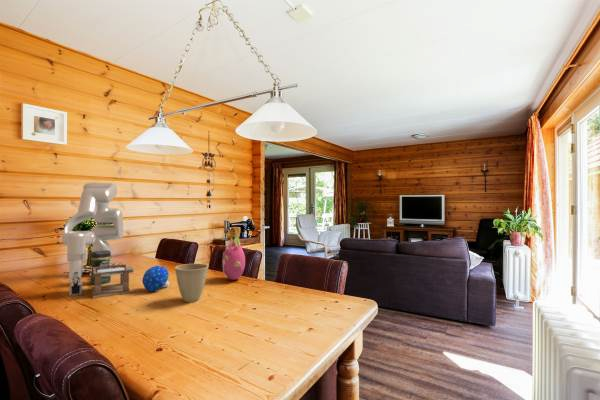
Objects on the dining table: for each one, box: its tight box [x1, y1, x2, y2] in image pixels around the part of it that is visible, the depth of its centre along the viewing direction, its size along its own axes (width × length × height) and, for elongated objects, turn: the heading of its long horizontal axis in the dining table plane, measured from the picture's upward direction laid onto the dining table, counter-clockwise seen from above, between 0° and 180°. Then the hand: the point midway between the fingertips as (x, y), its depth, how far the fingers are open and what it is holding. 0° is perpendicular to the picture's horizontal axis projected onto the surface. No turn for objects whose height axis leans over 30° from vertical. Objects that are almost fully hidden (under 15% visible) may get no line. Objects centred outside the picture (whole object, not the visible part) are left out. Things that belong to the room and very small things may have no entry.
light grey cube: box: [69, 281, 83, 297], centre depth 155 cm, size 5×5×5 cm
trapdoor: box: [97, 266, 134, 276], centre depth 161 cm, size 12×16×2 cm
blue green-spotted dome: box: [141, 265, 170, 292], centre depth 163 cm, size 14×14×15 cm
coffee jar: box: [89, 250, 112, 286], centre depth 175 cm, size 10×8×19 cm
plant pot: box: [175, 263, 209, 303], centre depth 147 cm, size 15×15×16 cm
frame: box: [92, 263, 131, 299], centre depth 160 cm, size 20×16×12 cm
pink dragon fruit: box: [221, 229, 246, 281], centre depth 184 cm, size 18×14×30 cm
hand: (76, 291), depth 155 cm, fingers open, 8 cm apart
